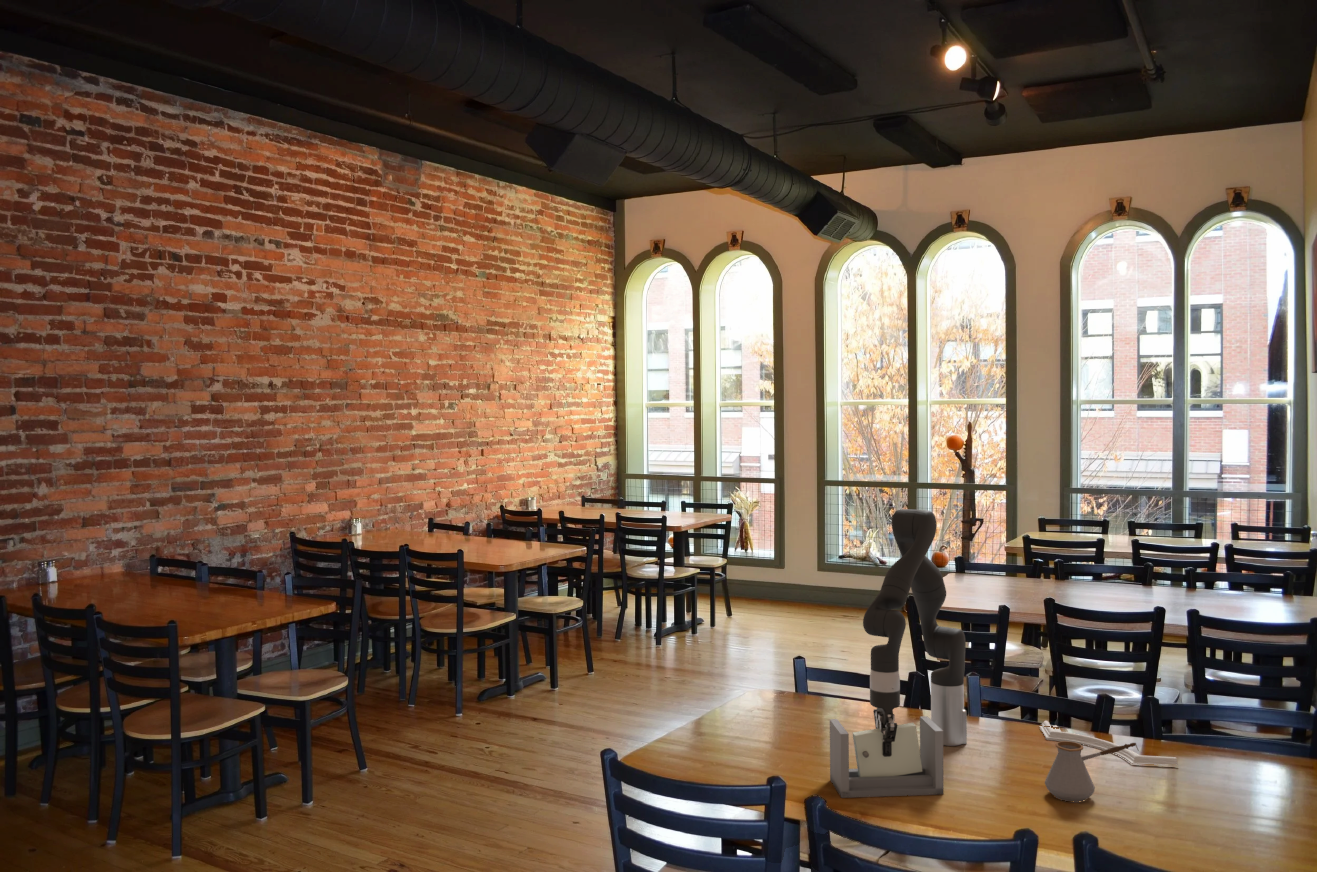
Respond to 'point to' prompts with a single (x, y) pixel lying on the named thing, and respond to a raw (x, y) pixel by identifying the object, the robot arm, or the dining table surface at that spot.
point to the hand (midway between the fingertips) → (885, 753)
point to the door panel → (898, 763)
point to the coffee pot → (1073, 772)
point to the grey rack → (900, 785)
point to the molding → (1103, 746)
